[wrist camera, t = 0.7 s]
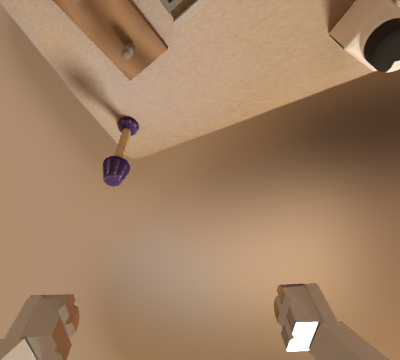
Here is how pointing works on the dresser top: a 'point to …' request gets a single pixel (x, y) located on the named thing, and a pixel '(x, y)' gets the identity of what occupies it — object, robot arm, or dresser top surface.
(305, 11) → the dresser top surface
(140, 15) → the pin board
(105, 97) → the dresser top surface
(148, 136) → the dresser top surface
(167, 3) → the sleeve
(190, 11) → the tray
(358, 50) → the medicine bottle
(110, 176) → the toy lamp
